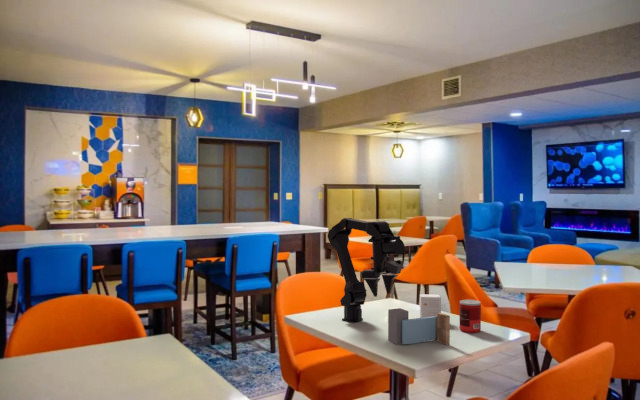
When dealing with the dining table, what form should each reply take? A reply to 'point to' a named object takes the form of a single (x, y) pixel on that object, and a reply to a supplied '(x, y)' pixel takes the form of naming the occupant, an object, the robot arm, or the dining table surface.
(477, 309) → the canned food
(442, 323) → the brown wooden block
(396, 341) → the block
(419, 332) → the gate
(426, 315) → the small box
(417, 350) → the dining table surface
